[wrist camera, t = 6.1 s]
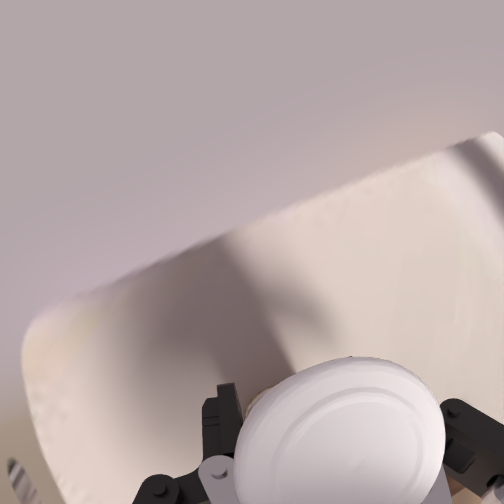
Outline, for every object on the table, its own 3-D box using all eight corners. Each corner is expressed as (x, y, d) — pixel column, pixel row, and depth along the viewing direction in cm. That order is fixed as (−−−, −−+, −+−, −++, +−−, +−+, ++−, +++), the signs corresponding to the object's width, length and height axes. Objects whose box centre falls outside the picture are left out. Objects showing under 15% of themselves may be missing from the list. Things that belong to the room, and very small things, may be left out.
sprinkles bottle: (309, 454, 14) (426, 540, 3) (237, 445, 15) (212, 551, 3) (321, 388, 17) (461, 355, 5) (250, 378, 17) (255, 337, 5)
